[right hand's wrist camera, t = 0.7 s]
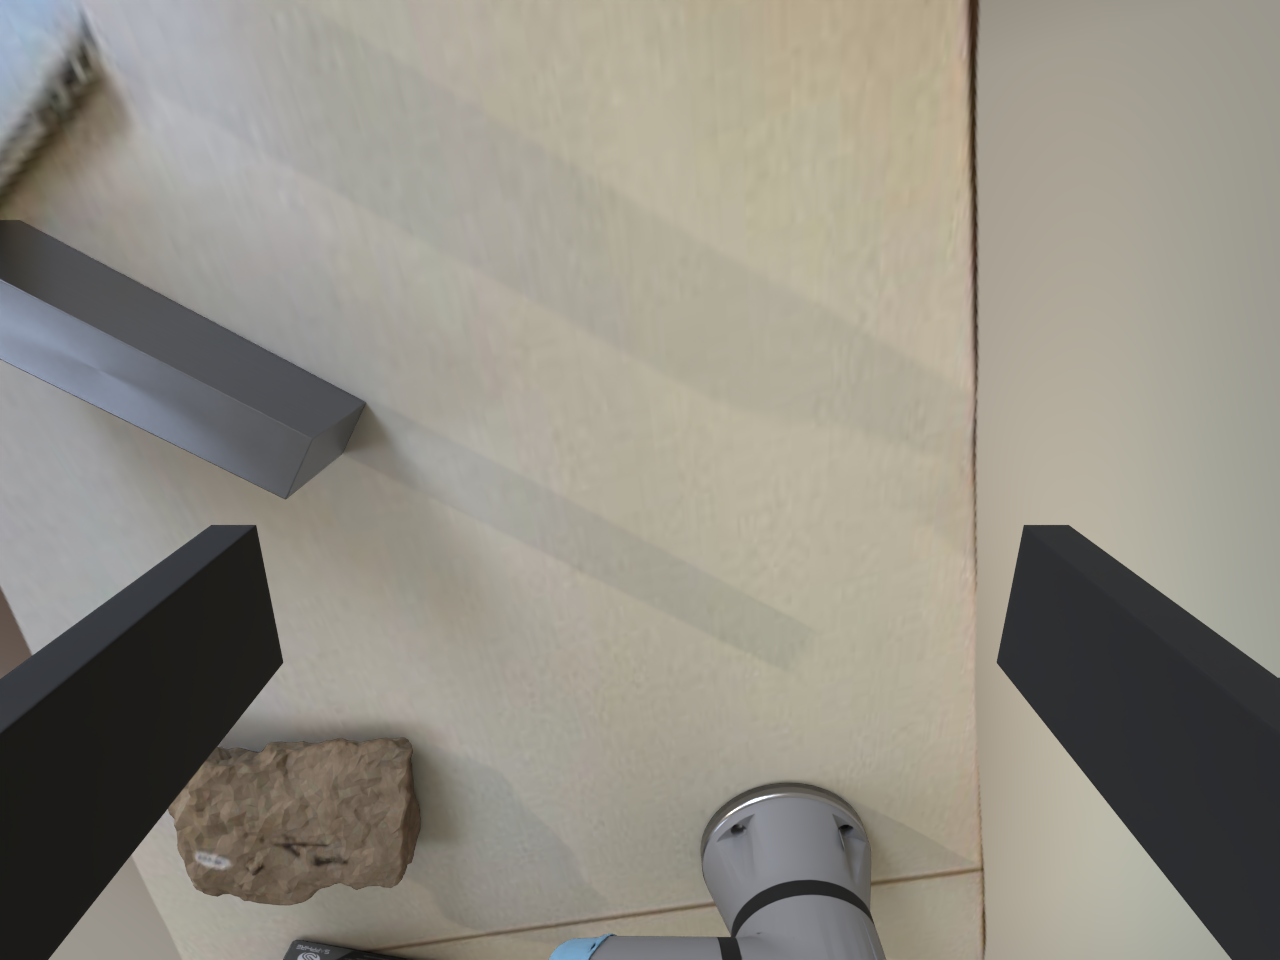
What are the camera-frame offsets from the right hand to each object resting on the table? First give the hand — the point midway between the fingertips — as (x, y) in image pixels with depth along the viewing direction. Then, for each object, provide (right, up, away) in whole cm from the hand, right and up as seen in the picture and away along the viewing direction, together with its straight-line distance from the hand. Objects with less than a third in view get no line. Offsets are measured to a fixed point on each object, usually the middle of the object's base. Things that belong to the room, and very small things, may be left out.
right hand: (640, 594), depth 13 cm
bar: (-32, +12, +39) cm, 52 cm away
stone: (-30, -25, +53) cm, 66 cm away
